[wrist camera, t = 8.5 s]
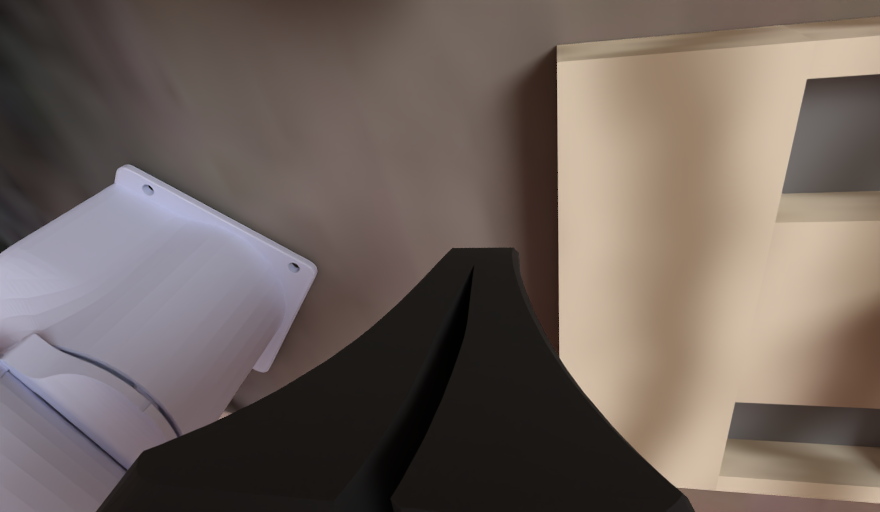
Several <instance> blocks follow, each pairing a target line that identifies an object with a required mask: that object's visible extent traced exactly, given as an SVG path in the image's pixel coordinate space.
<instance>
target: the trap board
mask: <svg viewBox="0 0 880 512" xmlns="http://www.w3.org/2000/svg"><path fill="white" fill-rule="evenodd" d="M557 122H558V244H559V358H560V359H561V361H562V362H563V364H564V365H565V367H566V368H567V370H568V371H569V373H570V374H571V376H572V377H573V378H574V380H575V381H576V382H577V384H578V385H579V386H580V388H581V389H582V390H583V392H584V393H585V394H586V395H587V397H588V398H589V399H590V400H591V401H592V402H593V404H594V405H595V406H596V407H597V408H598V409H599V411H600V412H601V413H602V414H603V415H604V417H605V418H606V419H607V420H608V421H609V422H610V424H611V425H612V426H613V427H614V428H615V429H616V430H617V431H618V432H619V433H620V434H621V435H622V436H623V438H624V439H625V440H626V441H627V442H628V443H629V444H630V445H631V446H632V447H633V448H634V449H635V450H636V451H637V452H638V453H639V454H640V455H641V456H642V457H643V458H644V459H645V460H646V461H647V462H649V463H650V464H651V465H652V466H653V467H654V468H655V469H656V470H657V471H658V472H659V473H660V474H661V475H662V476H664V477H665V478H666V479H667V480H668V481H669V482H670V483H671V484H673V485H674V486H675V487H677V488H690V489H703V490H716V491H729V492H741V493H754V494H767V495H780V496H793V497H806V498H819V499H832V500H845V501H857V502H870V503H880V17H869V18H857V19H846V20H835V21H824V22H812V23H801V24H790V25H779V26H767V27H756V28H745V29H734V30H722V31H711V32H700V33H689V34H677V35H666V36H655V37H644V38H632V39H621V40H610V41H599V42H587V43H576V44H565V45H557Z"/></svg>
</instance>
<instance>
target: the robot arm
mask: <svg viewBox="0 0 880 512" xmlns="http://www.w3.org/2000/svg"><path fill="white" fill-rule="evenodd" d="M148 185H149V186H151V187H152V188H153V190H154V191H152V190H151V189H150V188H149V186H148ZM292 263H295V264H297V265H298V266H299V268H297V267H295V266H293V264H292ZM316 275H317V267H316V266H315V264H314V263H312V262H311V261H309V260H307V259H305V258H304V257H302V256H300V255H298V254H296V253H294V252H292V251H291V250H289V249H287V248H285V247H283V246H281V245H279V244H278V243H276V242H274V241H272V240H270V239H268V238H266V237H265V236H263V235H261V234H259V233H257V232H255V231H253V230H251V229H250V228H248V227H246V226H244V225H242V224H240V223H238V222H237V221H235V220H233V219H231V218H229V217H227V216H225V215H224V214H222V213H220V212H218V211H216V210H214V209H212V208H211V207H209V206H207V205H205V204H203V203H201V202H199V201H197V200H196V199H194V198H192V197H190V196H188V195H186V194H184V193H183V192H181V191H179V190H177V189H175V188H173V187H171V186H170V185H168V184H166V183H164V182H162V181H160V180H158V179H157V178H155V177H153V176H151V175H149V174H147V173H145V172H143V171H142V170H140V169H138V168H136V167H134V166H132V165H124V166H122V167H120V168H119V169H118V170H117V172H116V176H115V182H114V184H112V185H111V186H109V187H107V188H106V189H104V190H103V191H101V192H99V193H98V194H96V195H94V196H93V197H91V198H89V199H88V200H86V201H84V202H83V203H81V204H79V205H78V206H76V207H75V208H73V209H71V210H70V211H68V212H66V213H65V214H63V215H61V216H60V217H58V218H56V219H55V220H53V221H51V222H50V223H48V224H47V225H45V226H43V227H42V228H40V229H38V230H37V231H35V232H33V233H32V234H30V235H28V236H27V237H25V238H23V239H22V240H20V241H18V242H17V243H15V244H14V245H12V246H10V247H9V248H8V249H6V250H5V251H3V252H2V253H1V254H0V512H695V511H694V509H693V507H692V505H691V503H690V501H689V500H688V498H687V497H686V496H685V495H684V494H683V493H682V492H681V491H679V490H678V489H677V488H676V487H675V486H674V485H673V484H671V483H670V482H669V481H668V480H667V479H666V478H665V477H664V476H662V475H661V474H660V473H659V472H658V471H657V470H656V469H655V468H654V467H653V466H652V465H651V464H650V463H649V462H647V461H646V460H645V459H644V458H643V457H642V456H641V455H640V454H639V453H638V452H637V451H636V450H635V449H634V448H633V447H632V446H631V445H630V444H629V443H628V442H627V441H626V440H625V439H624V438H623V436H622V435H621V434H620V433H619V432H618V431H617V430H616V429H615V428H614V427H613V426H612V425H611V424H610V422H609V421H608V420H607V419H606V418H605V417H604V415H603V414H602V413H601V412H600V411H599V409H598V408H597V407H596V406H595V405H594V404H593V402H592V401H591V400H590V399H589V398H588V397H587V395H586V394H585V393H584V392H583V390H582V389H581V388H580V386H579V385H578V384H577V382H576V381H575V380H574V378H573V377H572V376H571V374H570V373H569V371H568V370H567V368H566V367H565V365H564V364H563V362H562V361H561V359H560V358H559V356H558V355H557V353H556V352H555V350H554V348H553V347H552V345H551V343H550V341H549V340H548V338H547V336H546V334H545V332H544V330H543V329H542V327H541V325H540V323H539V321H538V319H537V317H536V315H535V312H534V310H533V308H532V305H531V303H530V300H529V298H528V296H527V293H526V291H525V288H524V285H523V281H522V278H521V274H520V263H519V252H517V251H516V250H515V249H514V248H452V249H451V250H450V251H449V252H448V253H447V254H446V255H445V256H444V257H443V258H442V259H441V260H440V261H439V262H438V263H437V264H436V265H435V266H434V268H433V269H432V270H431V271H430V272H429V273H428V274H427V275H426V276H425V277H424V278H423V279H422V280H421V281H420V282H419V283H418V284H417V285H416V286H415V287H414V288H413V289H412V290H411V291H410V292H409V293H408V294H407V295H406V296H405V297H404V298H403V299H402V300H401V301H400V302H399V303H398V304H397V305H396V306H395V307H394V308H393V309H392V310H390V311H389V312H388V313H387V314H386V315H385V316H384V317H383V318H382V319H380V320H379V321H378V322H377V323H376V324H375V325H374V326H373V327H371V328H370V329H369V330H368V331H366V332H365V333H364V334H363V335H361V336H360V337H359V338H357V339H356V340H355V341H354V342H352V343H351V344H349V345H348V346H347V347H345V348H344V349H342V350H341V351H340V352H338V353H337V354H336V355H334V356H333V357H331V358H330V359H328V360H327V361H325V362H324V363H322V364H321V365H319V366H317V367H316V368H314V369H312V370H311V371H309V372H307V373H306V374H304V375H302V376H301V377H299V378H298V379H296V380H294V381H293V382H291V383H289V384H288V385H286V386H284V387H283V388H281V389H279V390H277V391H276V392H274V393H272V394H270V395H268V396H266V397H264V398H262V399H260V400H259V401H257V402H255V403H253V404H251V405H249V406H247V407H245V408H243V409H240V410H238V411H236V412H234V413H232V414H230V415H228V416H226V417H224V418H222V419H220V420H218V419H219V417H220V416H221V414H222V413H223V411H224V410H225V408H226V407H227V405H228V404H229V402H230V401H231V399H232V398H233V396H234V395H235V393H236V392H237V390H238V389H239V387H240V386H241V385H242V383H243V382H244V380H245V379H246V377H247V376H248V374H249V373H250V371H251V370H252V369H254V370H256V371H258V372H267V371H268V370H269V368H270V367H271V365H272V363H273V361H274V359H275V357H276V355H277V353H278V351H279V349H280V347H281V345H282V343H283V341H284V339H285V337H286V335H287V333H288V331H289V329H290V327H291V325H292V323H293V321H294V319H295V317H296V315H297V313H298V311H299V309H300V307H301V305H302V303H303V301H304V299H305V297H306V295H307V293H308V291H309V289H310V287H311V285H312V283H313V281H314V279H315V277H316Z"/></svg>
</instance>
